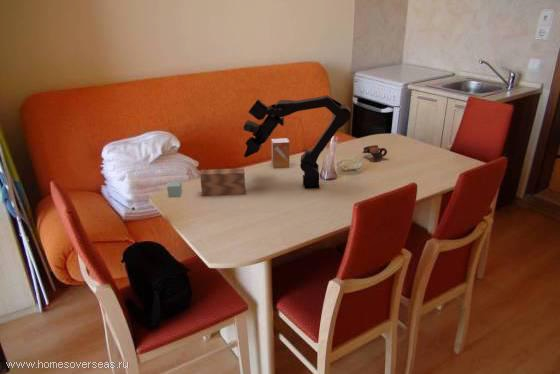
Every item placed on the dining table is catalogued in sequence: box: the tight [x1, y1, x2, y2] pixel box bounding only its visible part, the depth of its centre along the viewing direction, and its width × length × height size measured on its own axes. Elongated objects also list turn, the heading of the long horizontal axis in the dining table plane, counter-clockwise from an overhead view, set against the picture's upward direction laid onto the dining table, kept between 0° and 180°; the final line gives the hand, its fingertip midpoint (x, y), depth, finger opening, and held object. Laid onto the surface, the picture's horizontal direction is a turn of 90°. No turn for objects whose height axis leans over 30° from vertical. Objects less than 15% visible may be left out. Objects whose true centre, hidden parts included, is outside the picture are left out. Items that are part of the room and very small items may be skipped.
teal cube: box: [166, 181, 183, 198], centre depth 183 cm, size 5×5×5 cm
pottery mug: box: [362, 144, 388, 163], centre depth 218 cm, size 12×10×8 cm
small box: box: [271, 137, 290, 169], centre depth 209 cm, size 8×6×13 cm
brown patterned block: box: [199, 167, 246, 197], centre depth 183 cm, size 18×5×10 cm, turn 94°
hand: (248, 152), depth 188 cm, fingers open, 9 cm apart
